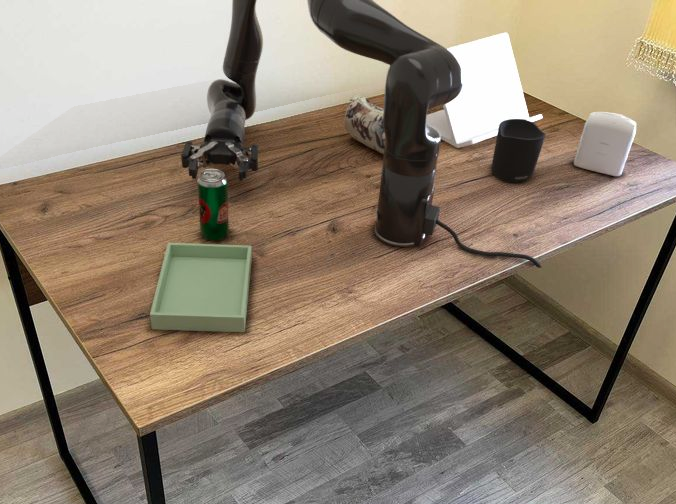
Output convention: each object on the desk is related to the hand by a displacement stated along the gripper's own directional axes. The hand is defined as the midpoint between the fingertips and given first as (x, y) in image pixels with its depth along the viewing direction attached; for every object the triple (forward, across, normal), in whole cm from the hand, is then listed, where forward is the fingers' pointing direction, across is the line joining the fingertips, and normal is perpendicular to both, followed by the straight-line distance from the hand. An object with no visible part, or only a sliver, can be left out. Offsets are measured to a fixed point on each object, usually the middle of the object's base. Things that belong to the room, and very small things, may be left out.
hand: (217, 175), depth 135 cm
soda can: (+8, 0, +7) cm, 11 cm away
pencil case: (-26, +34, +7) cm, 43 cm away
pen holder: (-19, +60, +7) cm, 63 cm away
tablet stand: (-42, +56, +7) cm, 70 cm away
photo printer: (-23, +79, +7) cm, 83 cm away
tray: (+25, 0, +7) cm, 26 cm away
